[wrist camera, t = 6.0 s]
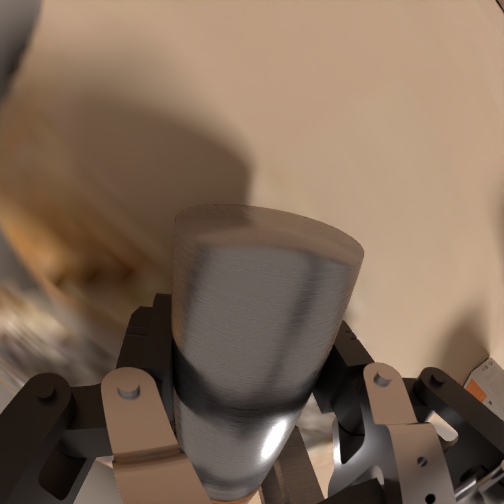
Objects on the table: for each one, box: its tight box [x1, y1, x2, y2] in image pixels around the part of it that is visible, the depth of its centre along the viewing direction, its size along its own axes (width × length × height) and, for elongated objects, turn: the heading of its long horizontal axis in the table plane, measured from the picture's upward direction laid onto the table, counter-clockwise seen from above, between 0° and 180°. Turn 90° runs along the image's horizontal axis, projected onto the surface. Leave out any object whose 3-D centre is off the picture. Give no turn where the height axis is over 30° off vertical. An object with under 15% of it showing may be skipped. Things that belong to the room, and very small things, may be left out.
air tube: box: [171, 204, 364, 504], centre depth 10 cm, size 20×5×5 cm, turn 170°
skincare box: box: [463, 357, 504, 421], centre depth 16 cm, size 6×4×12 cm
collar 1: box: [274, 427, 325, 504], centre depth 11 cm, size 1×11×8 cm, turn 81°
